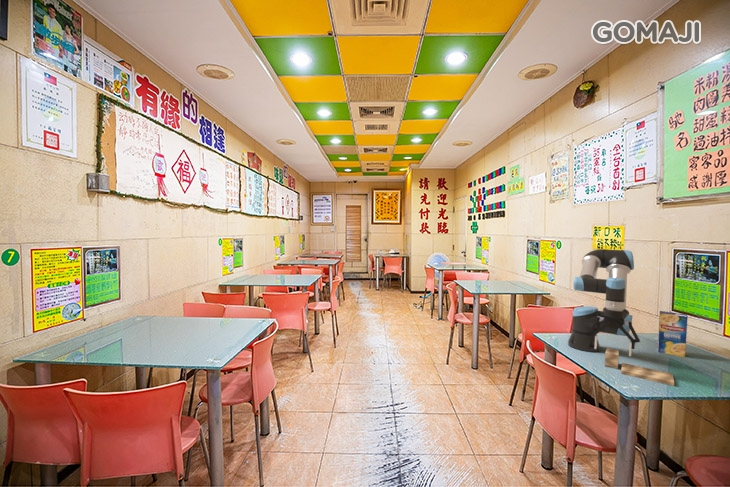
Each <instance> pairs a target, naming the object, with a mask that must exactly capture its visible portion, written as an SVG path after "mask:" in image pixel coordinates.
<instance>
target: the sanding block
mask: <svg viewBox="0 0 730 487" xmlns="http://www.w3.org/2000/svg"><path fill="white" fill-rule="evenodd" d="M604 356H605V358H604V367H606V368H611V369H615V370H618V368H619V360H620V350H617V349H612V348H606V349H605V354H604Z"/></svg>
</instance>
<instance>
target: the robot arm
mask: <svg viewBox="0 0 730 487" xmlns="http://www.w3.org/2000/svg"><path fill="white" fill-rule="evenodd" d="M581 265H582V267H581V270H580V274H579V276H575V277H574V278H573V286H572V287H573V290H575V291H577V292H578V291H579V292H585V293H586V292H587V293H597V294H604V295H605V302H604V303H605V304H604V305H605V306H604V307H603V308H602V310H599V308H598V307H595V306H586V305H584V306H576V307H574V309H573V310H572V311H573V312H572V327H571V328H572V329H571V333H570V336H569V338H568V340H567V341H568V342H567V344H568V345H567V346H569V347H570V348H573V349H575V350H579V351H583V352H591V353H597V352H599V351H600V349H601V346H600V343H599V339H598V334H599V333H602V334H603V333H605V334H610V335H616V336H623V337H627V339H628V340H630V341H629V346H628V347H629V349H628V356H629V357H632V350H635V347H636V345H635V344H636V343H640V342H641V340H640V338H639V335H638V333H637V332H636V330H635V328H634V327H633V315H631V314H630V311H629V310H628V309H627V308H626V307H627V290H628V286H627V285H628V274H630V273H631V271H633V270H634V269H635V262H634V253H633V251H631V250H628V249H607V248H606V249H605V248H600V249H599V248H598V249H593V250H592V251H589V252H588V253H586V254H585V255H584V256H583V257H582V260H581ZM599 268H601V269H602V268H603V269H605V270H606V272H607V273H608V277H607V278H606V279H604V278H603V279H602V278H597V276H598V270H599ZM630 332H631V334H632V335H633V337H632V335H631V334H630Z"/></svg>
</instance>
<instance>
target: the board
mask: <svg viewBox="0 0 730 487" xmlns="http://www.w3.org/2000/svg"><path fill="white" fill-rule="evenodd" d="M620 370H621V371H620V373H621V375H626V376H630V377H634V378H637V379H638V378H639V379H643V380H647V381H651V382H656V383H660V384H664V385H667V386H672V387H674V386H675V379H674V376H673V373H671V372H666V371H662V370H657V369H654V368H648V367H644V366H639V365H634V364H630V363H627V362H626V363H625V362H622V363H621V369H620Z"/></svg>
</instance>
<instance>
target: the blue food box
mask: <svg viewBox="0 0 730 487" xmlns="http://www.w3.org/2000/svg"><path fill="white" fill-rule="evenodd" d="M658 318H659V320H658V321H659V322H658V339H657V352H658V353H662V354H667V355H671V356H672V355H673V356H677V357H682V358H683V357H684V358H686V349H687V332H688V331H687V330H688V314H686V313H680V312H679V313H678V312H671V311H664V310H659V317H658Z"/></svg>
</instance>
